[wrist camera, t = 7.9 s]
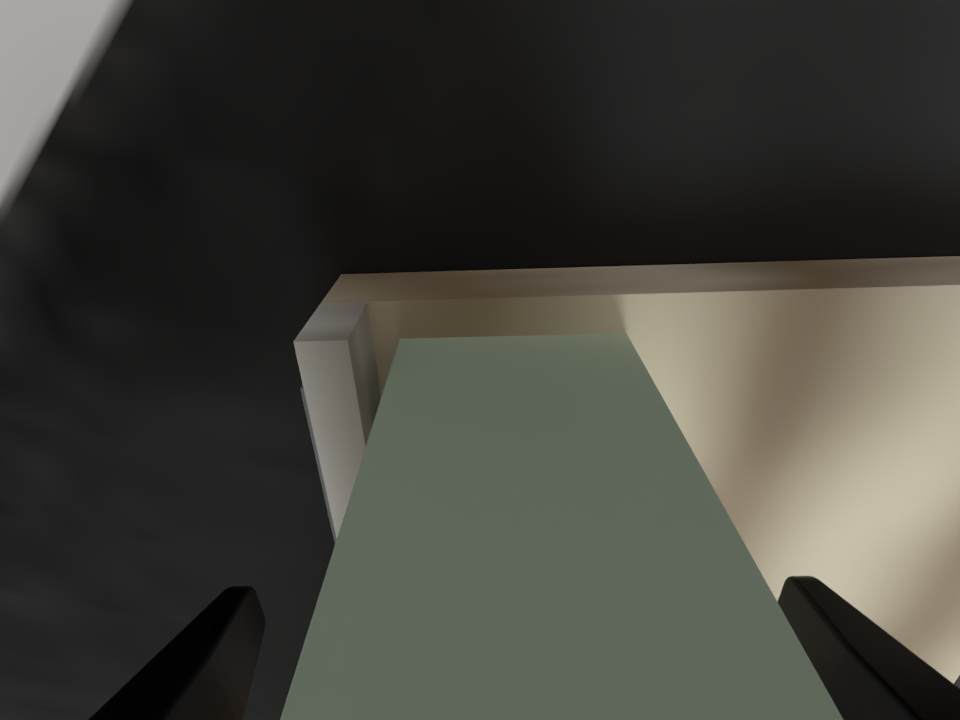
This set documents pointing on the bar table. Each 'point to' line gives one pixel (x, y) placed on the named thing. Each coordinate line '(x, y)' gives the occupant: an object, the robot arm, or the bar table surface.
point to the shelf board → (726, 402)
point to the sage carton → (541, 555)
